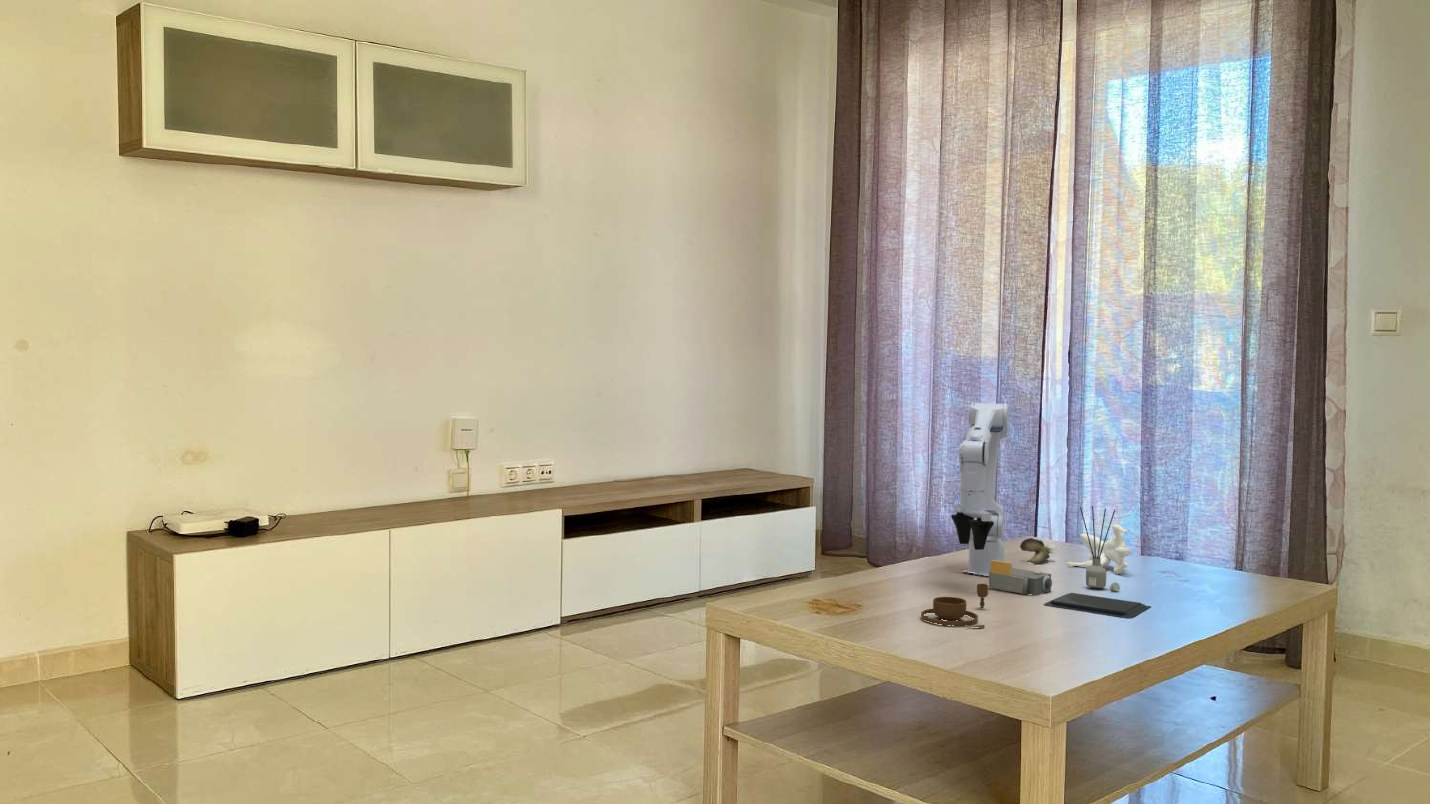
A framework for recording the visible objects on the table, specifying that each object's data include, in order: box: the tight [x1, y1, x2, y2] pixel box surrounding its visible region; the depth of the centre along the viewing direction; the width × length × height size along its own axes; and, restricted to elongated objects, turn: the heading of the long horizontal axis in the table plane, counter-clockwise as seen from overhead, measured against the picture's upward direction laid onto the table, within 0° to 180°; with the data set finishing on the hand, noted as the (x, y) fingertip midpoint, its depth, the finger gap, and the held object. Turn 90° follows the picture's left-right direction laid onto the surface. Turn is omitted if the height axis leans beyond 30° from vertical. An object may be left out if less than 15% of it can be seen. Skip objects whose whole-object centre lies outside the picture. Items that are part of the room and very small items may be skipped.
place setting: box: [920, 583, 989, 630], centre depth 238 cm, size 18×20×6 cm
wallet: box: [1043, 592, 1152, 620], centre depth 251 cm, size 20×2×15 cm
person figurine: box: [1066, 523, 1132, 575], centre depth 294 cm, size 13×13×18 cm
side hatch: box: [990, 560, 1028, 595], centre depth 264 cm, size 1×10×7 cm, turn 47°
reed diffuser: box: [1079, 506, 1121, 593], centre depth 269 cm, size 10×7×20 cm
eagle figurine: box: [1019, 537, 1057, 564], centre depth 303 cm, size 8×7×9 cm
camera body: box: [988, 567, 1053, 596], centre depth 267 cm, size 8×13×4 cm, turn 47°
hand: (971, 546), depth 267 cm, fingers open, 7 cm apart
